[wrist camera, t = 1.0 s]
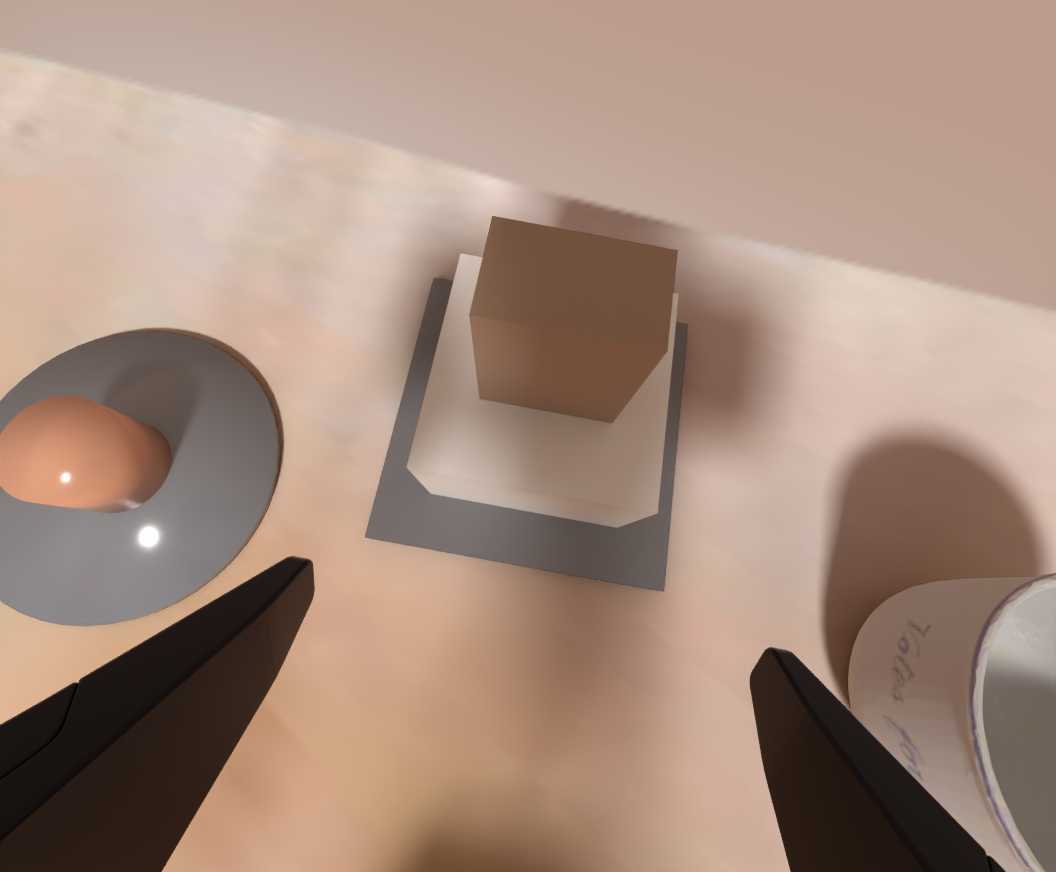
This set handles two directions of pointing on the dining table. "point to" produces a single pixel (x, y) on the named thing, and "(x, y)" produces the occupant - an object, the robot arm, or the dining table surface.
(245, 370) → the grey disc
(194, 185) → the dining table surface
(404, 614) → the dining table surface
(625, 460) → the white brown stepped block
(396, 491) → the mat
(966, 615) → the teacup
